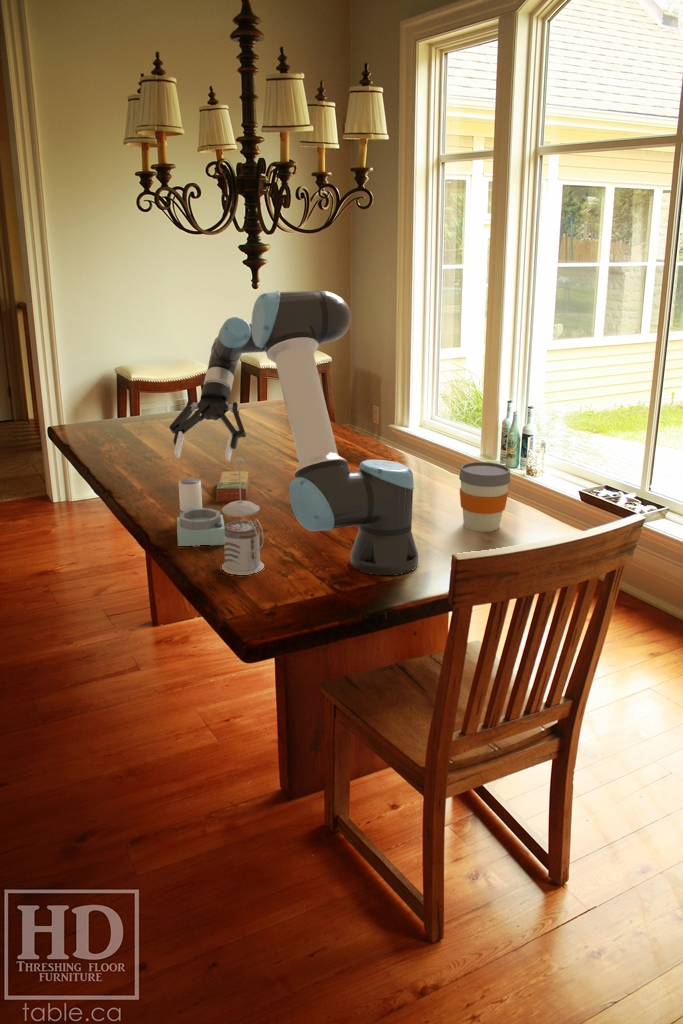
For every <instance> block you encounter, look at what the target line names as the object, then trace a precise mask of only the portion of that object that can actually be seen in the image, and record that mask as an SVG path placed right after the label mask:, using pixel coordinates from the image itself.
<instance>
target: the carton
mask: <svg viewBox="0 0 683 1024" xmlns="http://www.w3.org/2000/svg"><path fill="white" fill-rule="evenodd" d="M249 477H250V475H249V471H241V470H240V482H241V500H242V501H248V493H249V492H248V491H249V484H250V483H249V479H250V478H249ZM216 500H217V501H220V502H234V501H239V500H240V486H239V470H238V471H232V470H231V471H220V472H219V477H218V482H217V485H216ZM217 501H216V502H217Z"/></svg>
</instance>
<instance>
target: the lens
mask: <svg viewBox="0 0 683 1024" xmlns="http://www.w3.org/2000/svg"><path fill="white" fill-rule="evenodd" d="M178 495H179V496H178V497H179V499H178V500H179V514H180V513H182V512H184V511H187V510H190V509H199V508H204V507H203V498H202V497H203V496H202V495H203V494H202V481H201V479H198V478H194V477H190V478H189V477H187V478H186V477H185V478H182V479H180V480H179V481H178Z"/></svg>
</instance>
